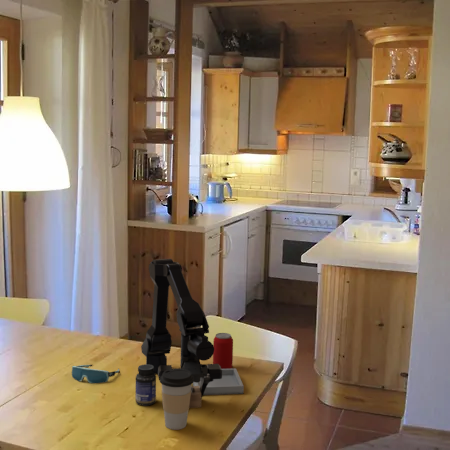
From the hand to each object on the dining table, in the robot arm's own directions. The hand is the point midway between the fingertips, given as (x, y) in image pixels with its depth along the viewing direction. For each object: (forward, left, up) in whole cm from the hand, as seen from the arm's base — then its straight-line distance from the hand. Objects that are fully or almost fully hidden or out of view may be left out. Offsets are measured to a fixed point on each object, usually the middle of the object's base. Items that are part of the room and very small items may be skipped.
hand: (189, 399), depth 194 cm
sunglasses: (-29, +25, -2) cm, 38 cm away
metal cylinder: (0, 0, -1) cm, 1 cm away
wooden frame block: (0, 0, -1) cm, 1 cm away
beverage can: (+14, +27, -2) cm, 30 cm away
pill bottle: (-13, +2, -2) cm, 13 cm away
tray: (+10, +13, -1) cm, 16 cm away
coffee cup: (-5, -14, -1) cm, 15 cm away
